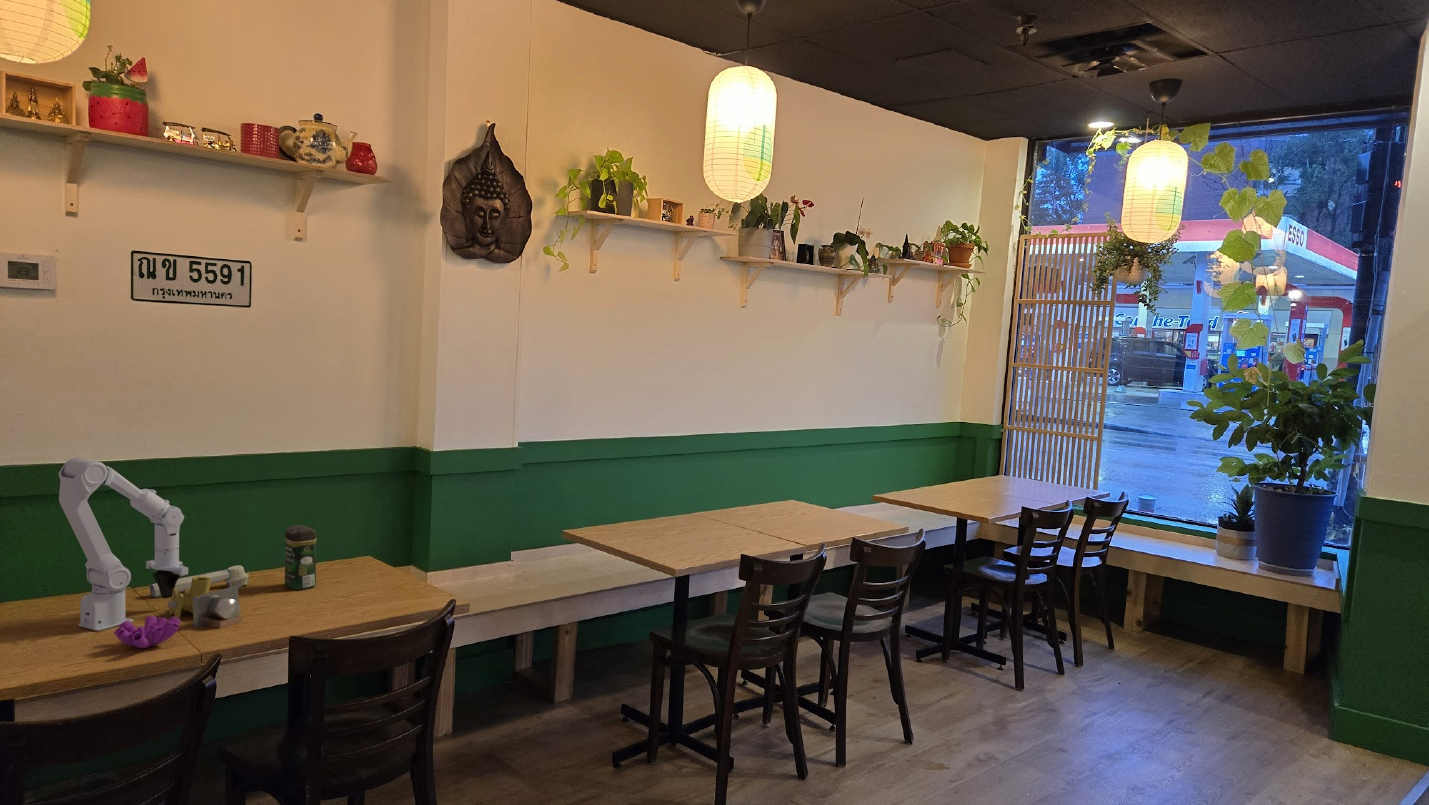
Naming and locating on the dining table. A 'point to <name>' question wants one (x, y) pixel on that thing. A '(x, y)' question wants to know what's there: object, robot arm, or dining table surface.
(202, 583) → the ball valve
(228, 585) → the grey piece
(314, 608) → the dining table surface
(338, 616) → the dining table surface
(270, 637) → the dining table surface
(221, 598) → the fitting
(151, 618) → the purple tube coral
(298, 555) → the coffee jar
